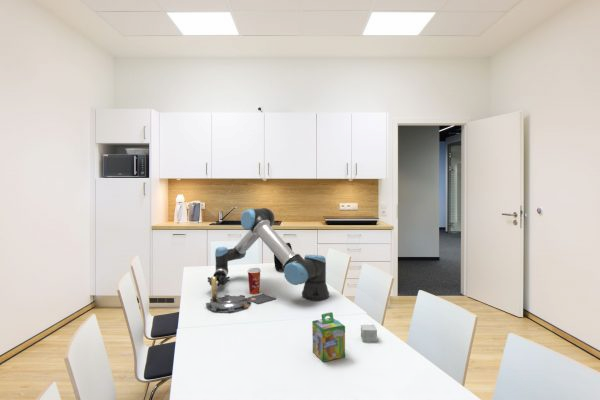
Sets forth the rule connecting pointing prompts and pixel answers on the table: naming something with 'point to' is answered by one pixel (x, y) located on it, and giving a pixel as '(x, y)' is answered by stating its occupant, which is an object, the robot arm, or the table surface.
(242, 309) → the sprocket base
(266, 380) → the table surface
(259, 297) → the marked pad
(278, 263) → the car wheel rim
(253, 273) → the paper cup
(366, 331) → the small box
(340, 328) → the chalk box
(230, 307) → the sprocket
